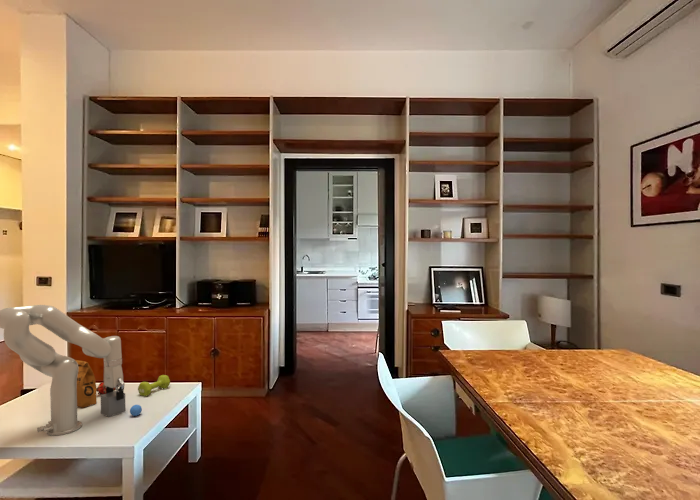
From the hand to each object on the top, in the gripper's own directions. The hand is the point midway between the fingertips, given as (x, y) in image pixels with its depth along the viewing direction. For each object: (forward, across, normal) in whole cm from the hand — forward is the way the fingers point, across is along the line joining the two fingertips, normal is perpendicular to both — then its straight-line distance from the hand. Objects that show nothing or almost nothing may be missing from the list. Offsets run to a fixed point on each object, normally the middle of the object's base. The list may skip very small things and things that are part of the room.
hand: (115, 397), depth 198 cm
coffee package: (+7, -24, -4) cm, 25 cm away
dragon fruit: (+8, -29, +10) cm, 31 cm away
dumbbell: (+8, -11, +26) cm, 29 cm away
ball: (+4, +13, +3) cm, 14 cm away
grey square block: (+7, 0, -1) cm, 7 cm away
